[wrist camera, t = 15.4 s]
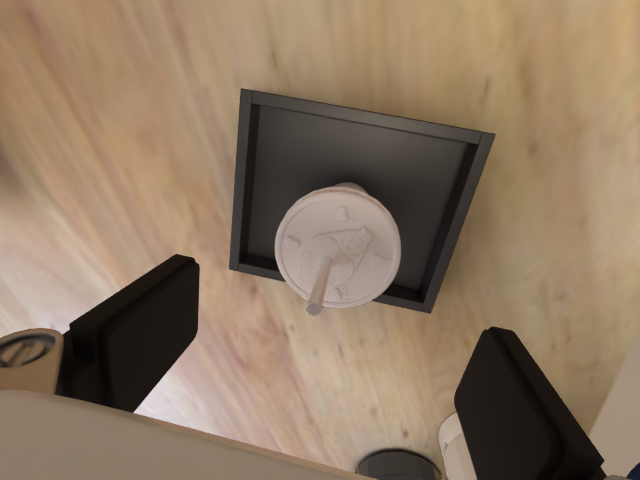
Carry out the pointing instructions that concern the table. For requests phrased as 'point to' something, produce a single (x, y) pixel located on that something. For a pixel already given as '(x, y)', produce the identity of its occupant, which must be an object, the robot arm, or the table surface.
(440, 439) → the bottle
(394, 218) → the tray
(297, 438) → the table surface
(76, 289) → the table surface
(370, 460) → the bowl
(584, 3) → the table surface
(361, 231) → the smoothie
